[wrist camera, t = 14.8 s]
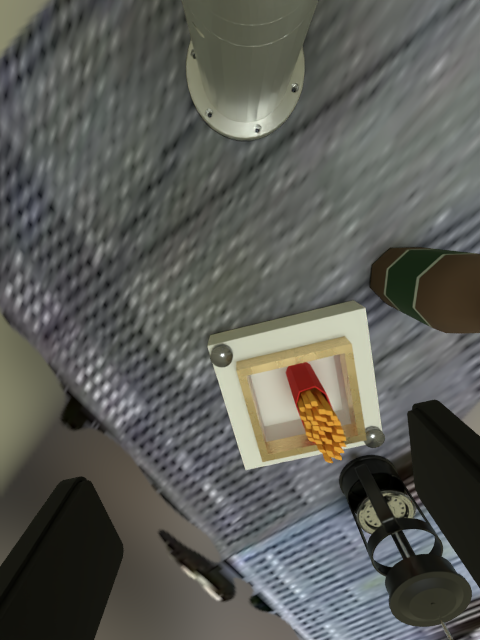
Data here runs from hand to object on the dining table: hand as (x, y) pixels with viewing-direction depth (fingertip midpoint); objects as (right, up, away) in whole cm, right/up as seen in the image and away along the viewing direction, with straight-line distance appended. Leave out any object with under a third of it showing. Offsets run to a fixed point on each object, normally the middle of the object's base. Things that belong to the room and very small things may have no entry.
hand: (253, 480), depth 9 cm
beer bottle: (+20, +11, +31) cm, 38 cm away
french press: (+20, -21, +41) cm, 50 cm away
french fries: (+9, -4, +35) cm, 36 cm away
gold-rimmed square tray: (+8, -4, +35) cm, 36 cm away
